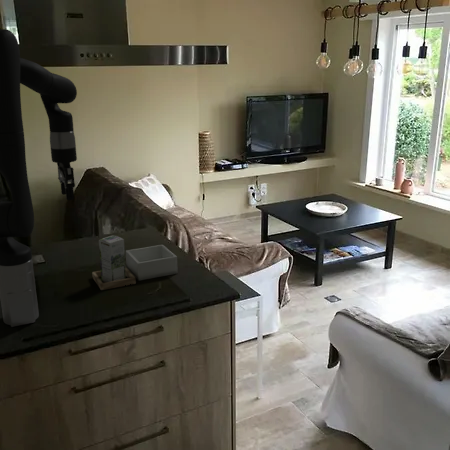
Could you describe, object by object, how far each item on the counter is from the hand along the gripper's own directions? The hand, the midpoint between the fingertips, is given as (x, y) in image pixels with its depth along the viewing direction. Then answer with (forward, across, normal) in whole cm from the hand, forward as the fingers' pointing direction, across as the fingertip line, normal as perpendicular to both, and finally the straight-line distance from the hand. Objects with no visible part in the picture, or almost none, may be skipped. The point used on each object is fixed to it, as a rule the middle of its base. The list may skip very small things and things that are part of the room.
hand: (67, 197), depth 166 cm
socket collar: (+27, -10, -10) cm, 31 cm away
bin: (+27, -7, -24) cm, 37 cm away
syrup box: (+27, -10, -10) cm, 31 cm away
